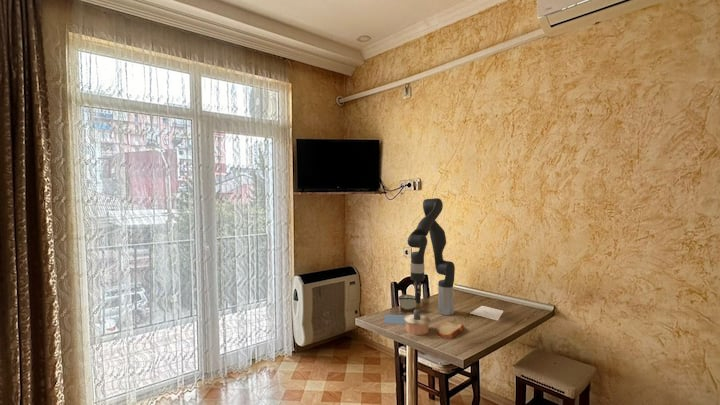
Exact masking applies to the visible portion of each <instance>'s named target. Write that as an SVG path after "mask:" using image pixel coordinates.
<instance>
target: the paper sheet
mask: <svg viewBox="0 0 720 405" xmlns="http://www.w3.org/2000/svg"><path fill="white" fill-rule="evenodd" d="M503 313H504V310H502V309H497V308H493V307H490V306H485V305H480V306H478V307H477V308H475V309H474V310H473V311H471V312H470V313H469V314H470V315H475V316H479V317H483V318H485V319H486V318H487V319H490V320H493V321H499V319H500V318H501V316H502V314H503Z"/></svg>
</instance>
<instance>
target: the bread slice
mask: <svg viewBox="0 0 720 405" xmlns="http://www.w3.org/2000/svg"><path fill="white" fill-rule="evenodd" d="M464 328H465V326H464V324H462V323H459V324H458V323H455V322H453V321H449V320H448V321H445V322H443V323H441V324H440V325H439V326H438V329H437V334H438V337H440V338H441V339H444V340H450V339H453V338H456V337H457V336H458V335H460V334H461V333H462V332H463V331H464Z"/></svg>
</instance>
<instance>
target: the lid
mask: <svg viewBox="0 0 720 405" xmlns="http://www.w3.org/2000/svg"><path fill="white" fill-rule="evenodd" d="M406 315H407V316H405V317H404V320H405V322H407V323H409V324H413V325H425V324H428V325H429V324H430V322H431V318H429V317H428V316H426V315H423V314H421V310H420V309H416V310H414V312H413V314H406Z"/></svg>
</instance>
